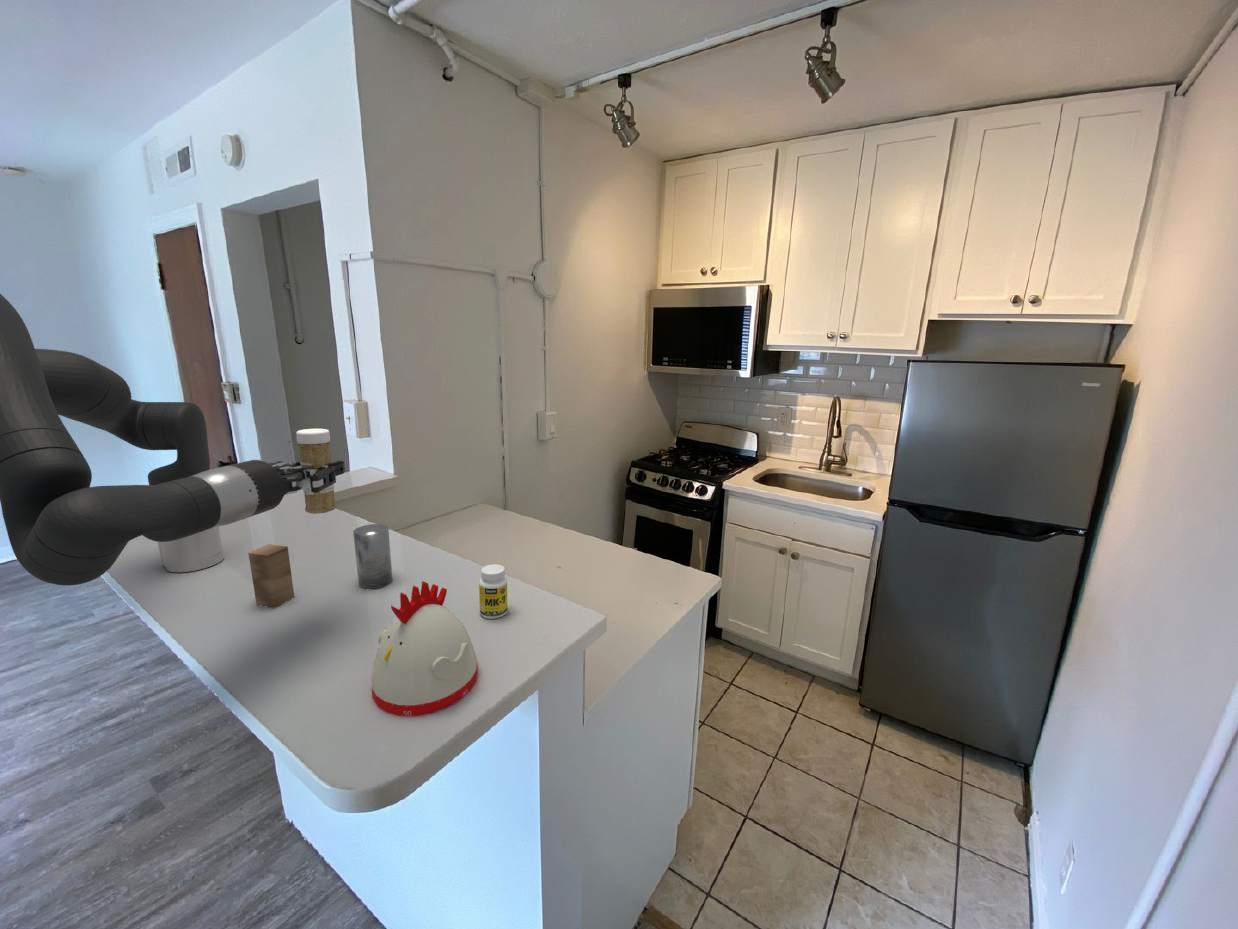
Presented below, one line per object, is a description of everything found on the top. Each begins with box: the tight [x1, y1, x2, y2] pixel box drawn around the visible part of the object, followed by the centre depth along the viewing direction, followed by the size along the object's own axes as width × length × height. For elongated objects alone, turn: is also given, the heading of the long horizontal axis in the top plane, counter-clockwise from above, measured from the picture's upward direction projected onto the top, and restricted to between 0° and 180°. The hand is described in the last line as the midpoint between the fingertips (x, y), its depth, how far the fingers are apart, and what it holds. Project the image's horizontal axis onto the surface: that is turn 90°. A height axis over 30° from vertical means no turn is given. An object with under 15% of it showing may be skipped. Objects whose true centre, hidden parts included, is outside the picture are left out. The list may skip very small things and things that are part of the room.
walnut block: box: [248, 543, 295, 608], centre depth 88 cm, size 4×4×10 cm
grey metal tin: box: [352, 523, 393, 590], centre depth 96 cm, size 6×6×11 cm
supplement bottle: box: [478, 564, 508, 620], centre depth 87 cm, size 5×5×8 cm
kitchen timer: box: [371, 580, 479, 717], centre depth 69 cm, size 14×14×15 cm
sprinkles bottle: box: [295, 428, 337, 515], centre depth 81 cm, size 5×5×14 cm
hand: (329, 465), depth 83 cm, fingers closed on sprinkles bottle, 4 cm apart
